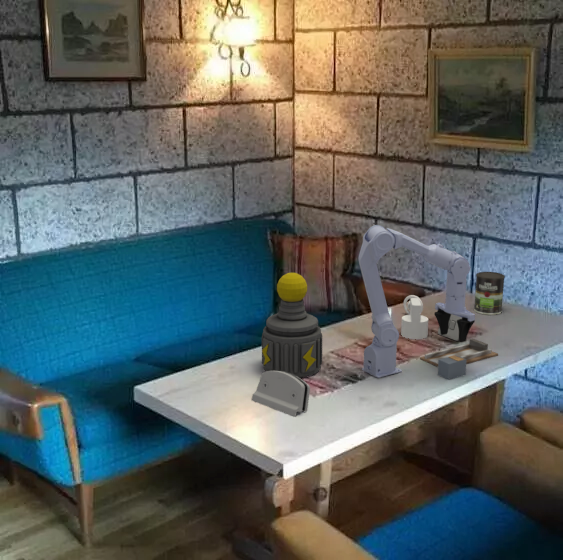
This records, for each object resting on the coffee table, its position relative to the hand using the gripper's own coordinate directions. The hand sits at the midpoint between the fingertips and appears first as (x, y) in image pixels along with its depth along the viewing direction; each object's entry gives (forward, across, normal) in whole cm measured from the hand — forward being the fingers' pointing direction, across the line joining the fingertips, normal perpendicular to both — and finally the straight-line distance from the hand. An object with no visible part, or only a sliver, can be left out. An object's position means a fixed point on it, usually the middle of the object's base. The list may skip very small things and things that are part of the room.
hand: (453, 337), depth 237 cm
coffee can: (+10, +34, -53) cm, 64 cm away
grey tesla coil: (+10, +27, +41) cm, 50 cm away
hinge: (+10, +6, +58) cm, 59 cm away
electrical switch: (+10, +21, -21) cm, 31 cm away
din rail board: (+10, +5, -8) cm, 14 cm away
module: (+10, -4, +4) cm, 11 cm away
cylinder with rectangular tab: (+10, +29, -11) cm, 32 cm away
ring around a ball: (+10, +46, -27) cm, 54 cm away
